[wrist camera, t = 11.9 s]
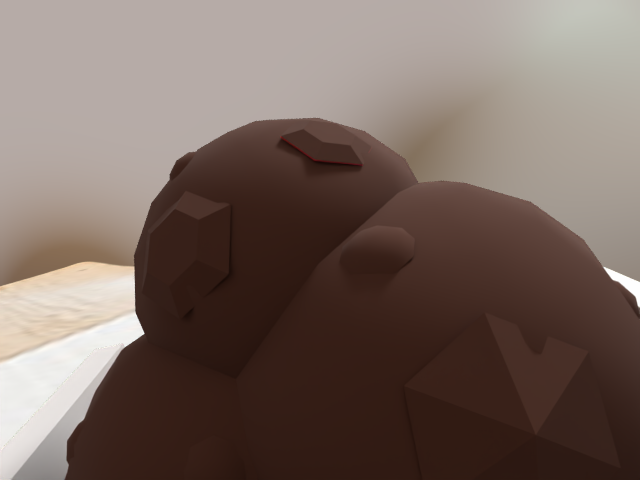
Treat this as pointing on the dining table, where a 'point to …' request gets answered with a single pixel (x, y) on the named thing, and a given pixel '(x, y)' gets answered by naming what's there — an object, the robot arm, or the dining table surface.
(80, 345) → the dining table surface
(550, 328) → the ice cream bowl
